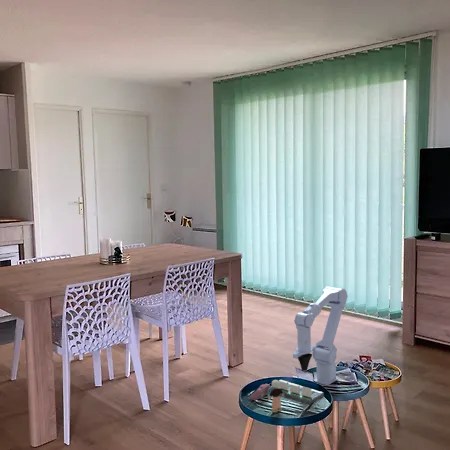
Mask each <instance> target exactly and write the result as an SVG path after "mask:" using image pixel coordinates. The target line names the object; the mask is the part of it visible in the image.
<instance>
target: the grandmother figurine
mask: <svg viewBox="0 0 450 450" xmlns="http://www.w3.org/2000/svg"><path fill="white" fill-rule="evenodd" d="M279 385H280V383H279V380H278V379H274V380H272V381H271V387H272V388H273V389H271V390H270V391H269V394H268V398H267V399H268V401H271V400H272V401H271V408H272V409H271V412H273V413H278V412H280V411H282V410H283V408H282V402H281V401H282V400H281V397H283V398H284V397H285V396H284V394H283V391H282V390H281V389H280V388H278V387H279ZM280 394H281V395H280Z"/></svg>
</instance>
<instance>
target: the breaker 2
mask: <svg viewBox="0 0 450 450" xmlns="http://www.w3.org/2000/svg"><path fill="white" fill-rule="evenodd" d="M312 389H313V388H310V387H306V386H303V387H302V395H304V396H307V397H311V396H312Z"/></svg>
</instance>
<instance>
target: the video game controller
mask: <svg viewBox="0 0 450 450" xmlns="http://www.w3.org/2000/svg"><path fill="white" fill-rule="evenodd" d="M271 387H272V385H270V384H268V383H265V384H264V383H263V384H261V385H259V387H258V388H257V389H256V390H255V391H254V392H253V393H252V394H250V396H249V399H250V400H252V401H255V400H257V399H259V400H261V399H262V398H263V397H265V396H266V395H267V393H268V392H270V391H271V390H270V389H271Z"/></svg>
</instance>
